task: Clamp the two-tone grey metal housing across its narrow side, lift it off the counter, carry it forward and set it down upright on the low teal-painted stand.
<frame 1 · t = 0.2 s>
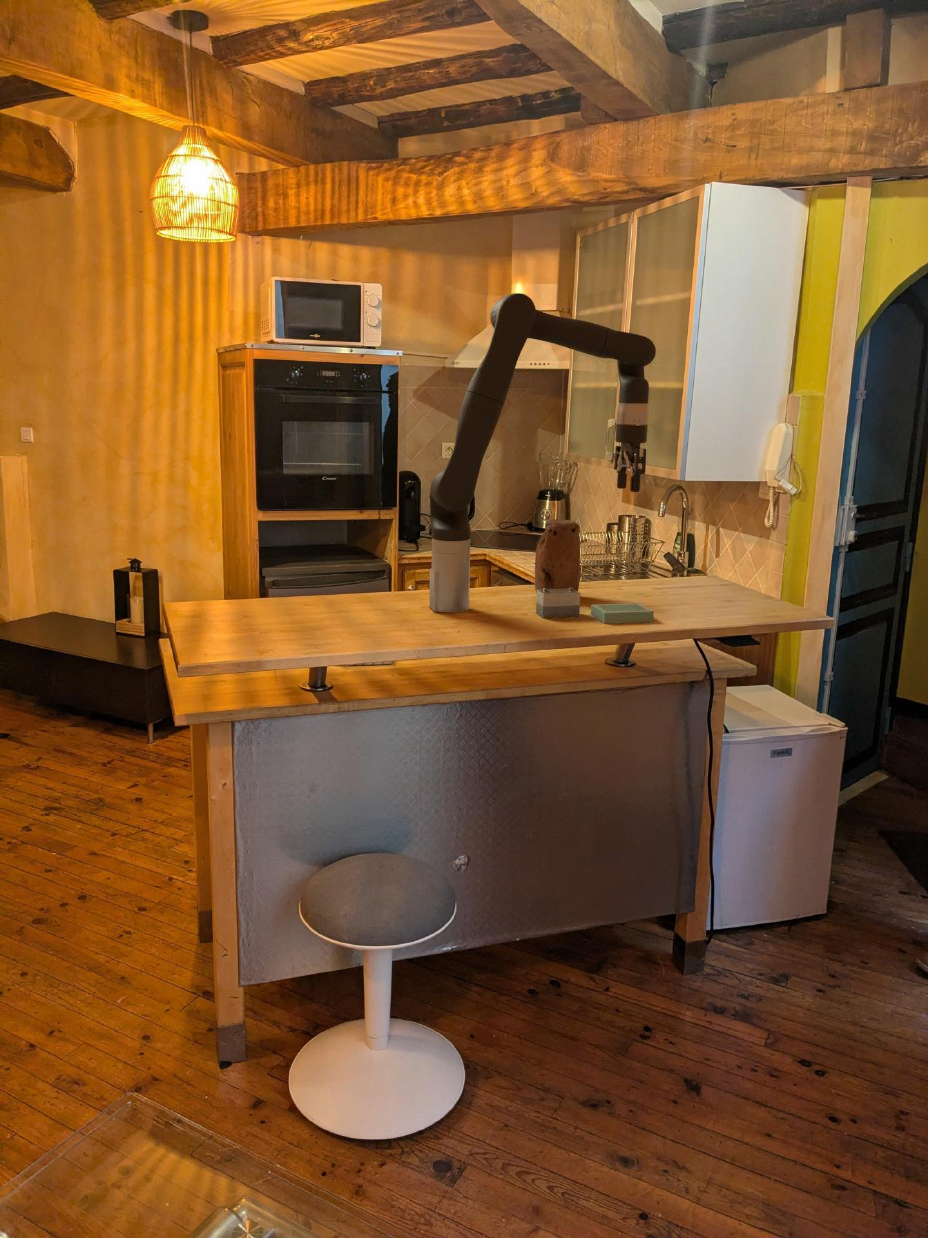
hand: (627, 490, 233), 29 cm above the table, fingers open, 8 cm apart
housing: (557, 615, 226), on the table
stand: (621, 618, 223), on the table
block: (555, 598, 246), on the table
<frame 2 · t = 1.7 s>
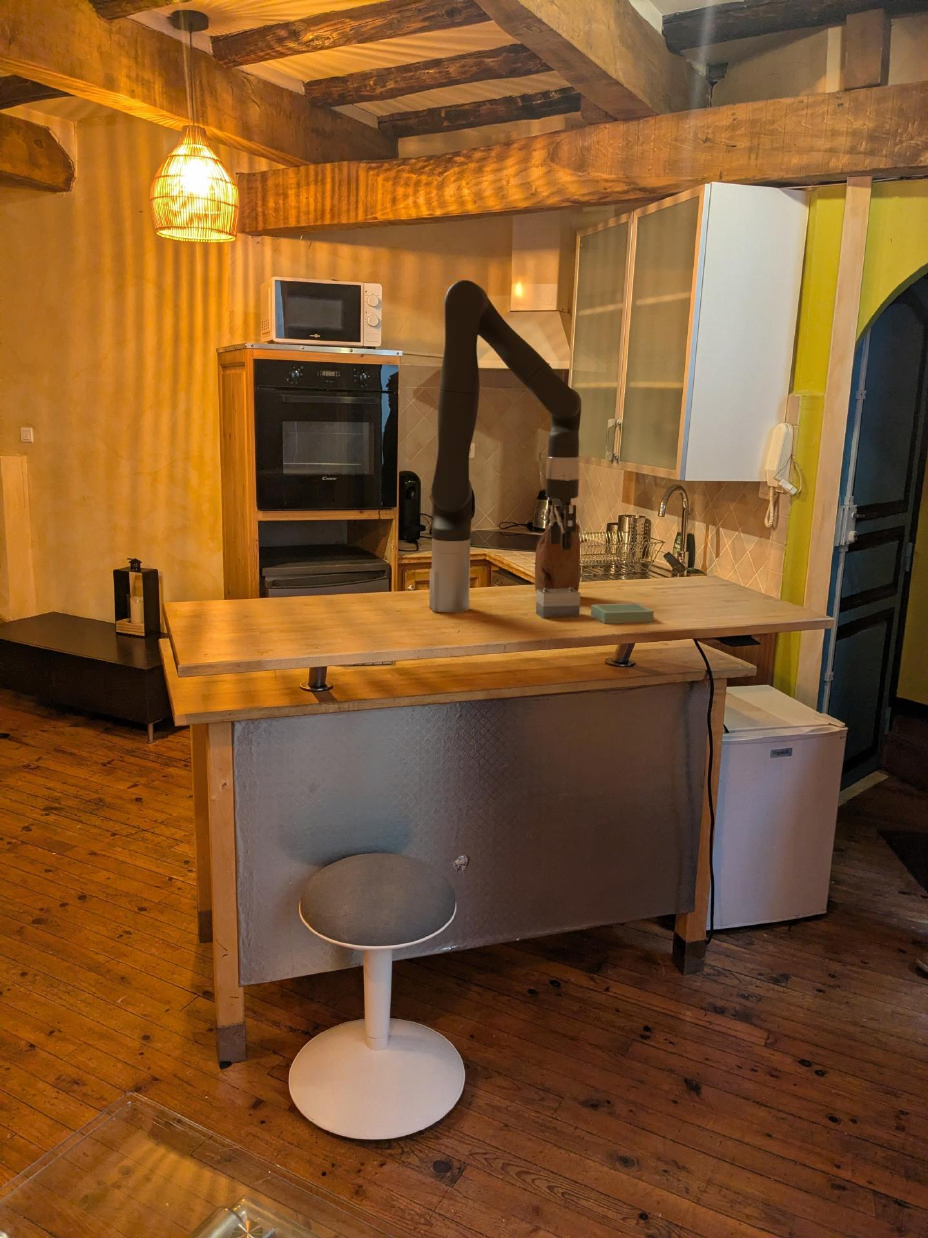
hand: (560, 546, 222), 16 cm above the table, fingers open, 8 cm apart
nothing on the table moved.
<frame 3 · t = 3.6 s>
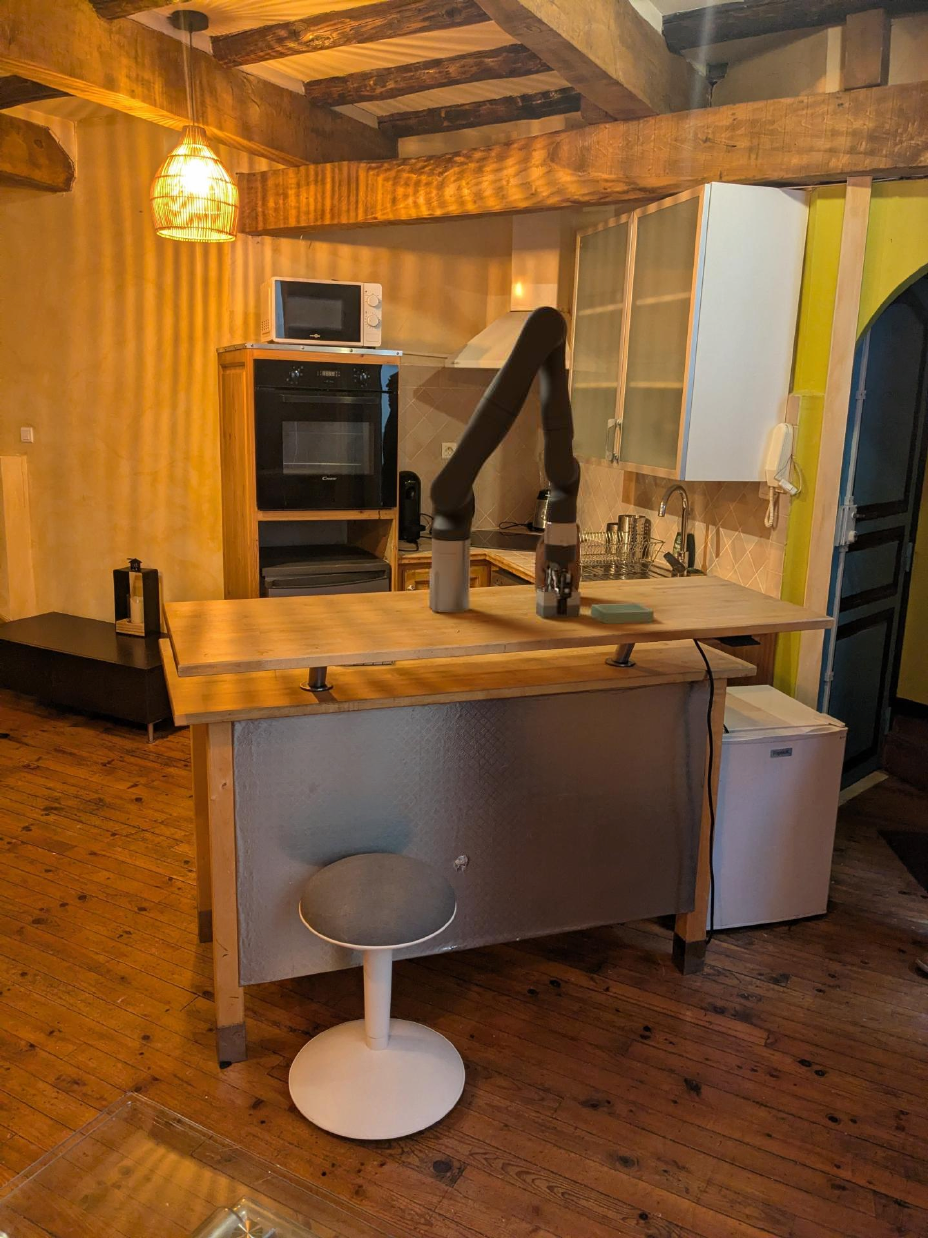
hand: (557, 611, 225), 1 cm above the table, fingers closed on housing, 5 cm apart
housing: (557, 615, 226), on the table, touching gripper
everything else where it was.
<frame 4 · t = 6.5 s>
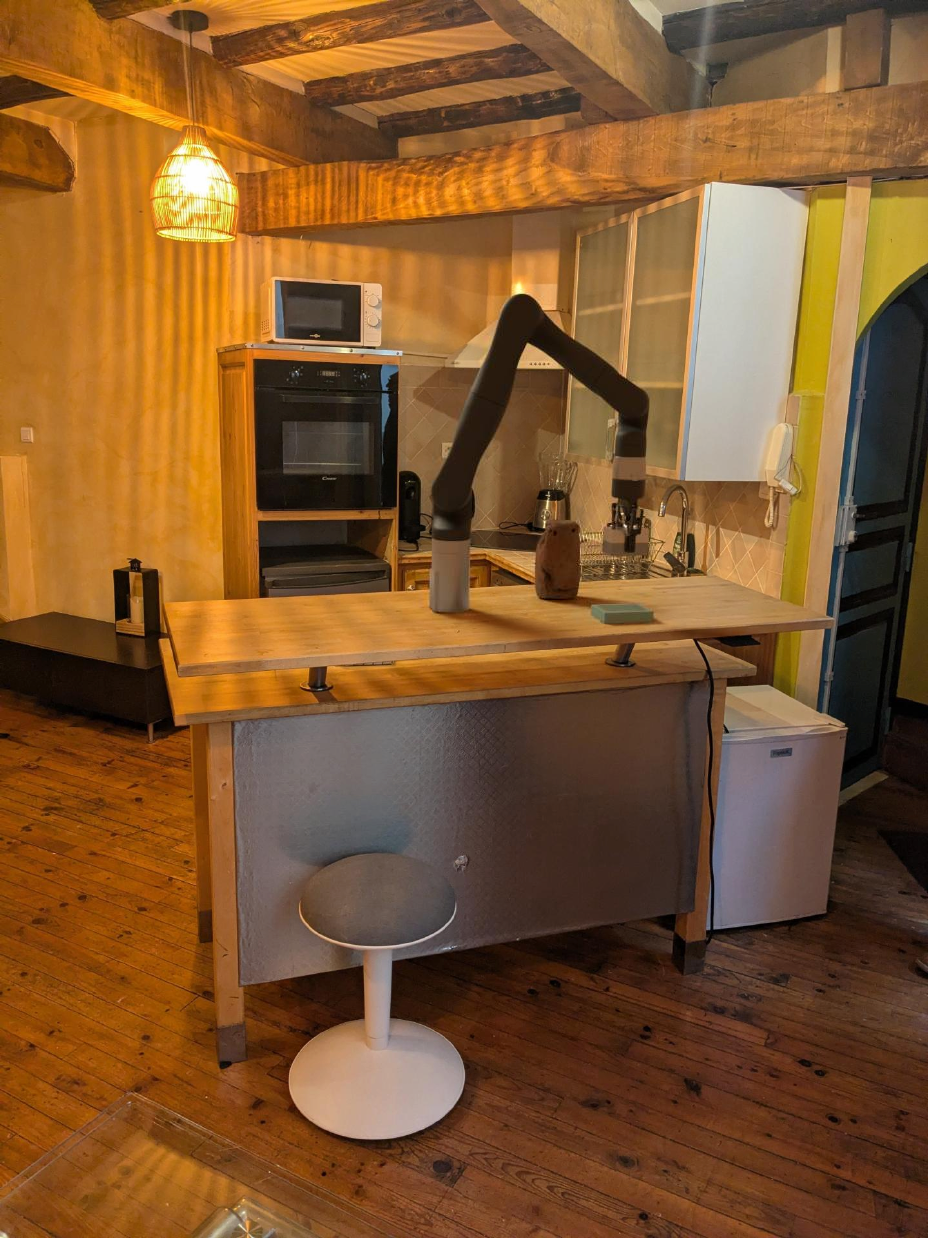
hand: (624, 550, 220), 16 cm above the table, fingers closed on housing, 5 cm apart
housing: (624, 553, 220), point 15 cm above the table, touching gripper
everything else where it was.
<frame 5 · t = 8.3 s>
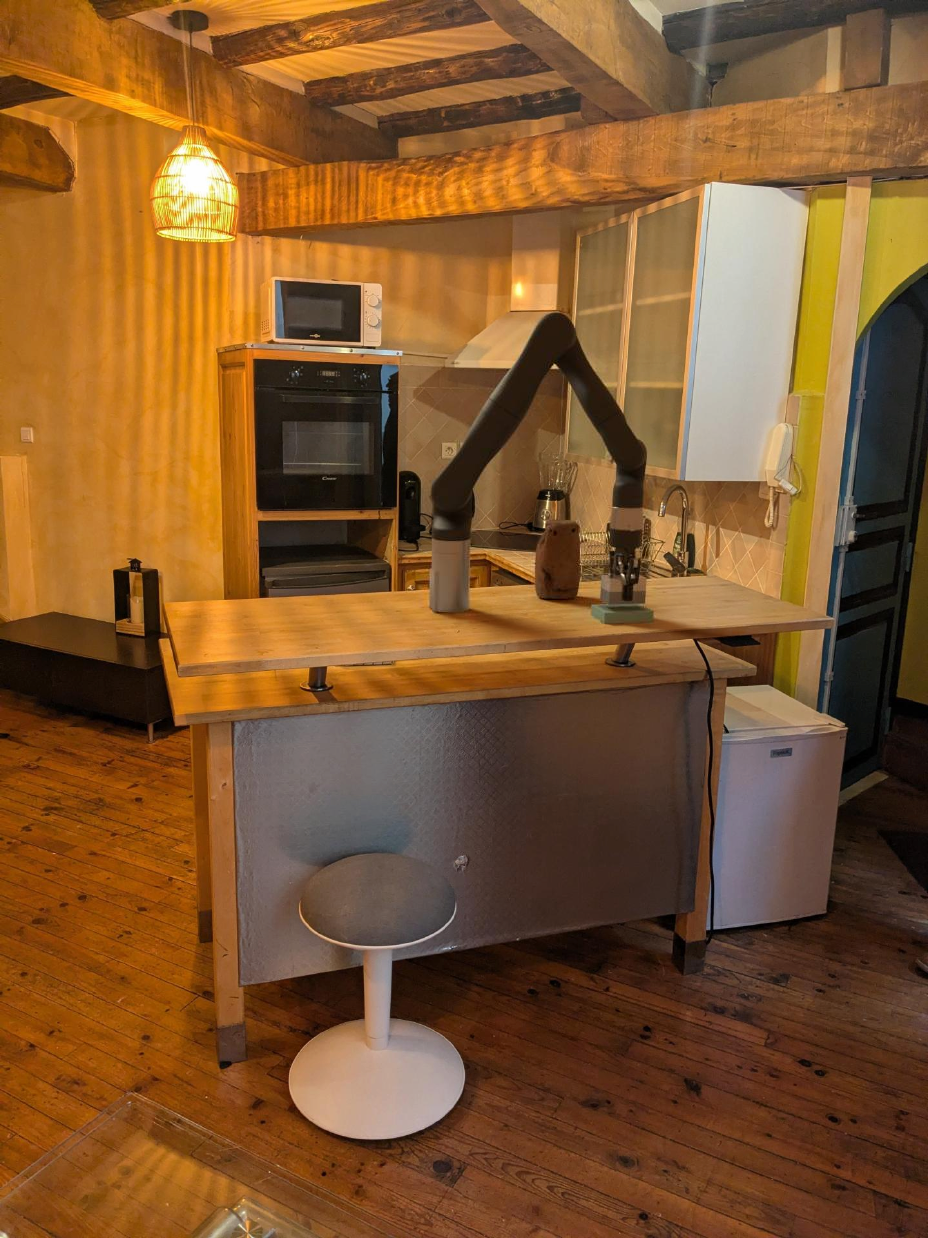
hand: (622, 597, 222), 5 cm above the table, fingers closed on housing, 5 cm apart
housing: (622, 601, 222), point 4 cm above the table, touching gripper
everything else where it was.
when the fingers open (4 cm above the table, at t = 9.5 s): housing stays where it is, resting on stand.
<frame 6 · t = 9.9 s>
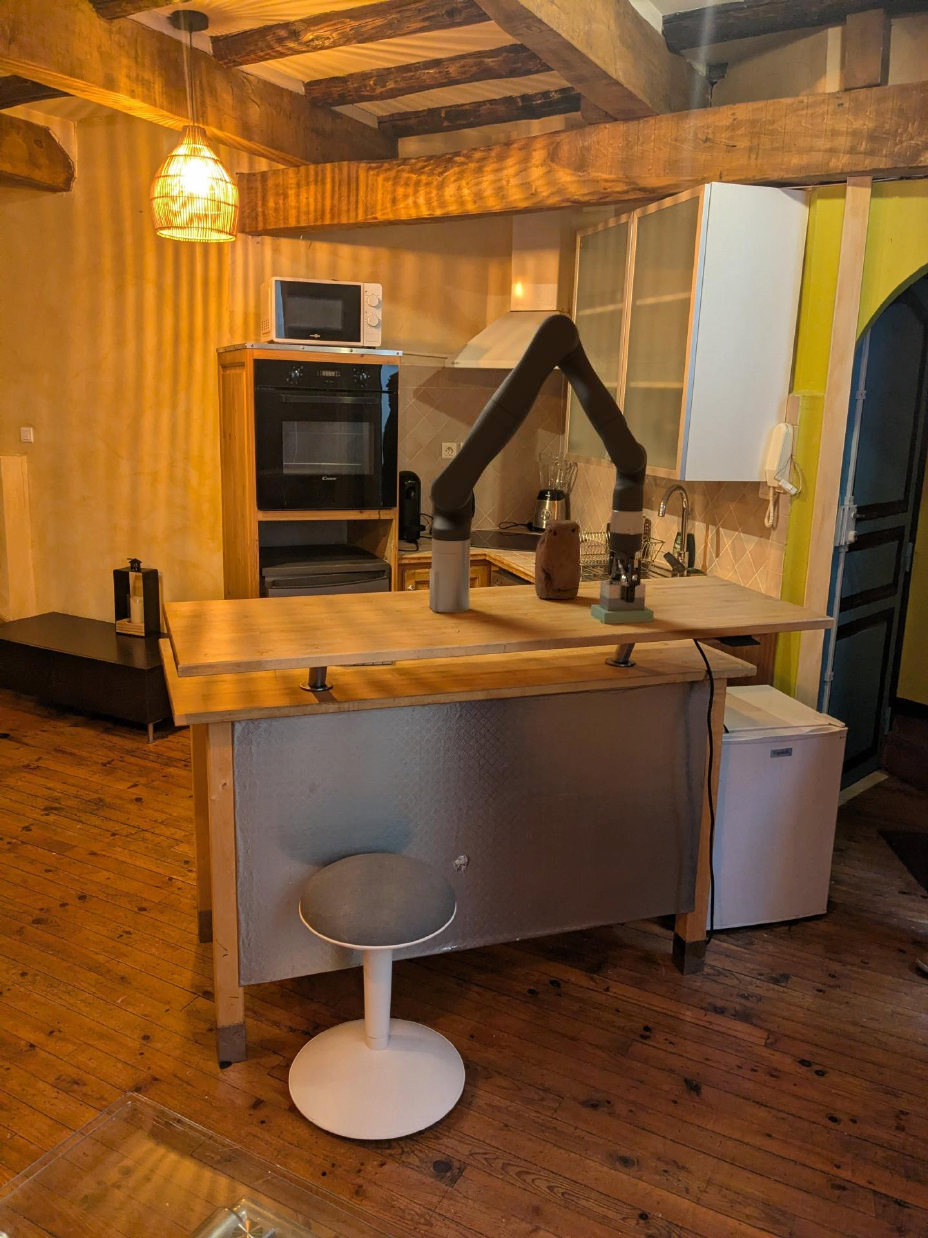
hand: (622, 598, 222), 5 cm above the table, fingers open, 8 cm apart
housing: (621, 607, 223), point 2 cm above the table, touching stand
everything else where it was.
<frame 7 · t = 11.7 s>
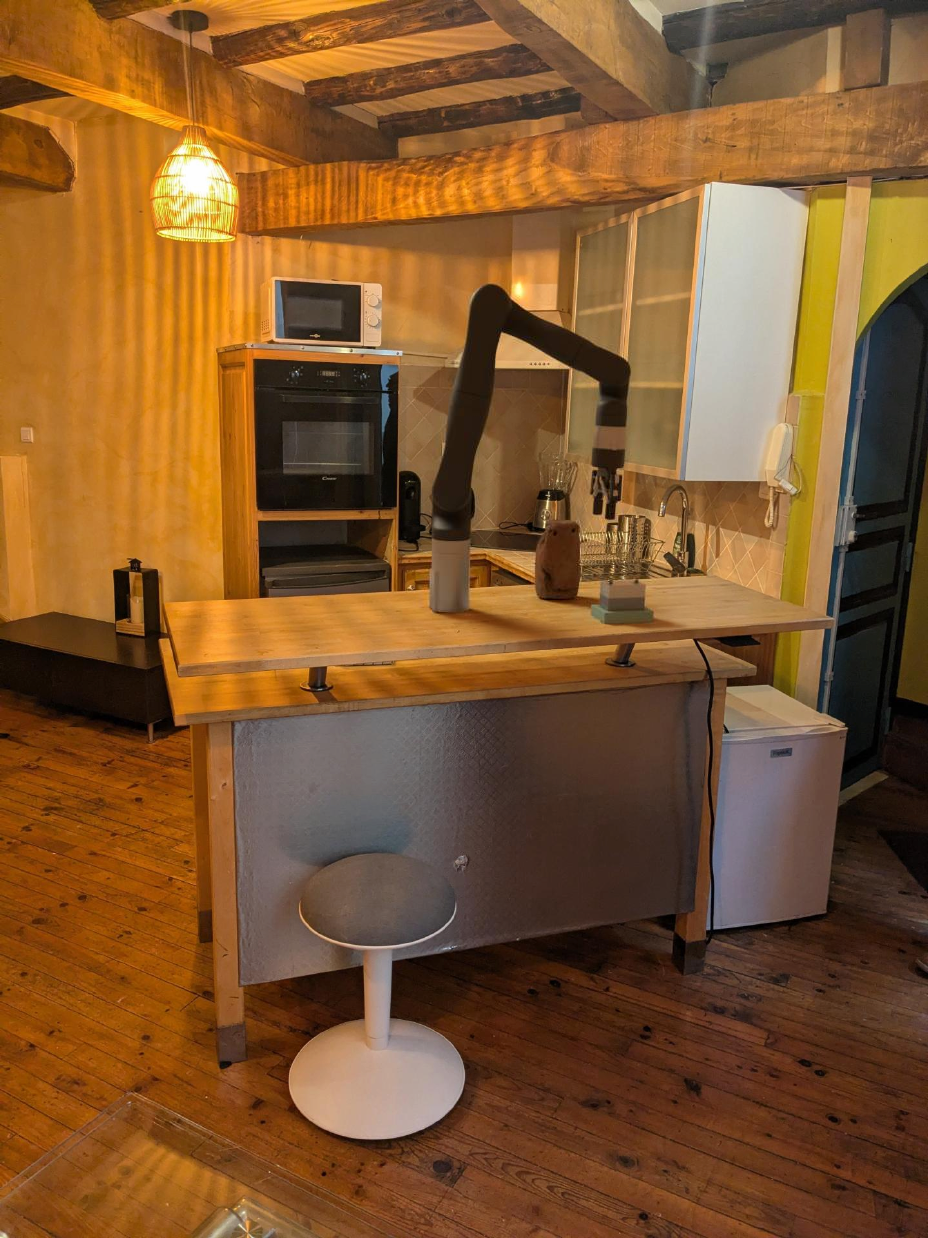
hand: (603, 517, 221), 23 cm above the table, fingers open, 8 cm apart
nothing on the table moved.
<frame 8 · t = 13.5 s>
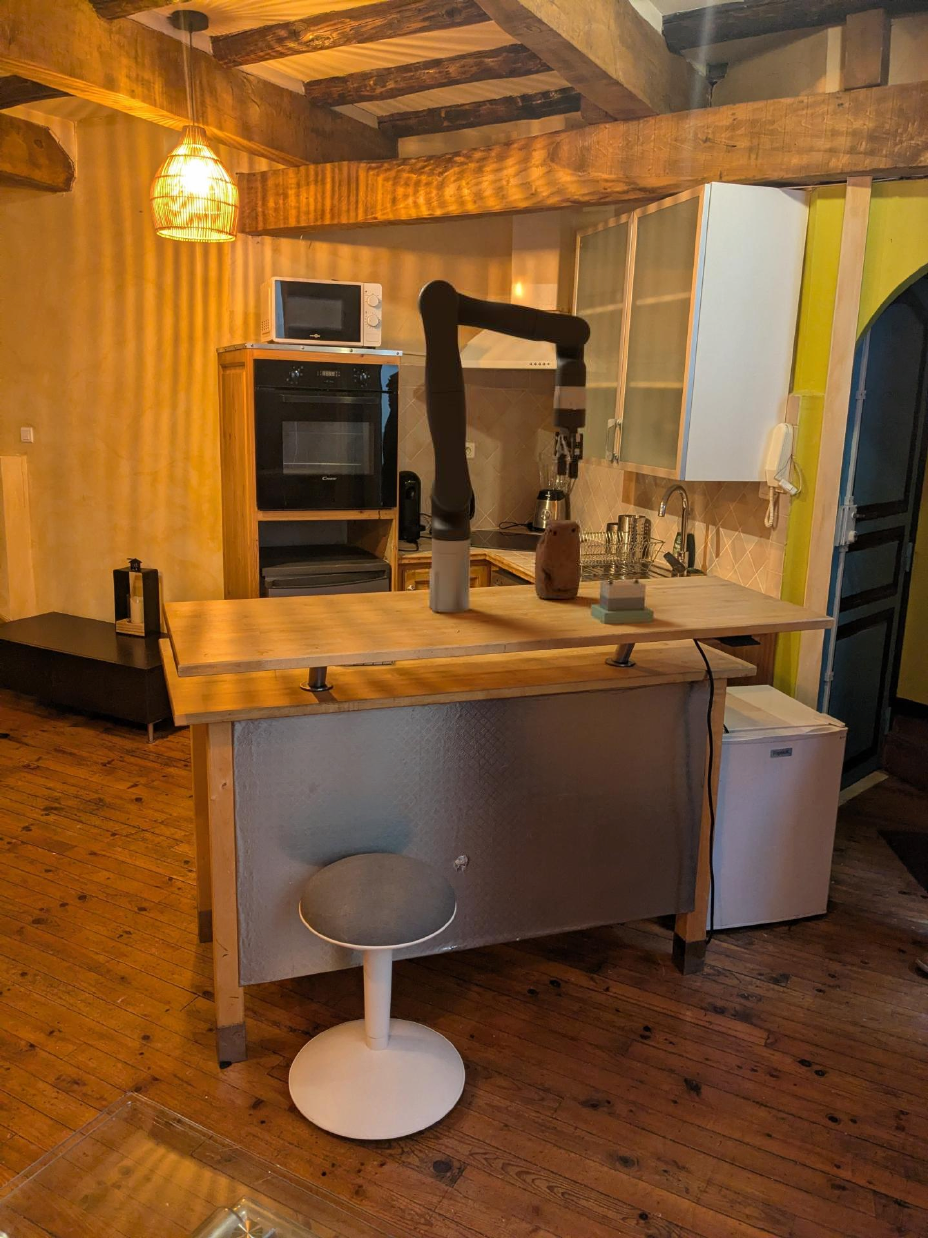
hand: (567, 476, 225), 32 cm above the table, fingers open, 8 cm apart
nothing on the table moved.
at the end: housing inside the target area on the stand (0.1 cm from its centre), point 2.5 cm above the stand's base; housing tilted 0°; the gripper is holding nothing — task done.
